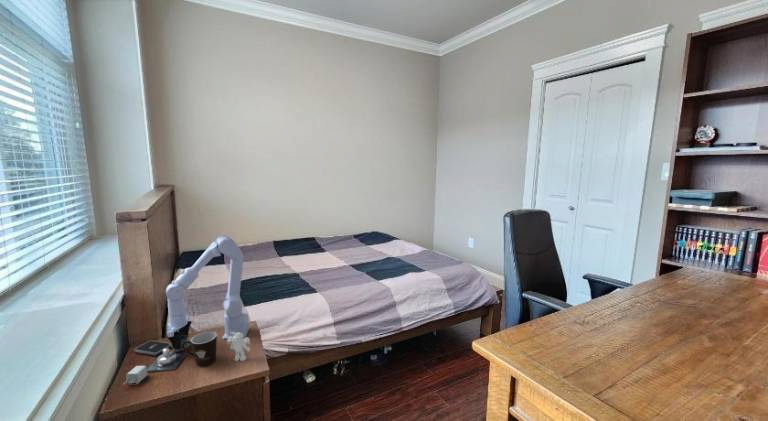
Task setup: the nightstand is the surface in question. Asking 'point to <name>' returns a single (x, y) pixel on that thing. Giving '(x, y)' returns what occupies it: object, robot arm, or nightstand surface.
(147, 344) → the external hard drive
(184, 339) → the ring
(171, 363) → the silver sculpture on base
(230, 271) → the robot arm
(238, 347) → the hat wearing toy figure
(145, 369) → the usb wall charger
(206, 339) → the coffee mug
